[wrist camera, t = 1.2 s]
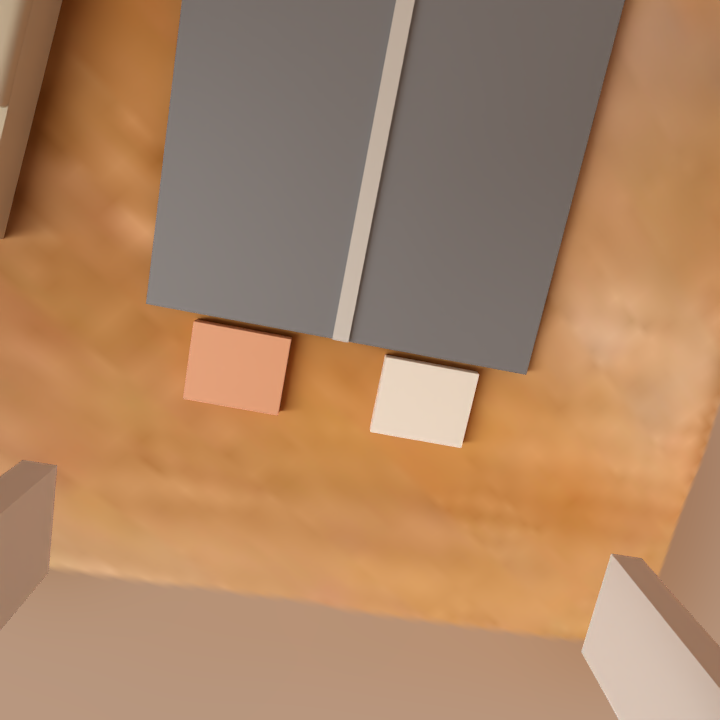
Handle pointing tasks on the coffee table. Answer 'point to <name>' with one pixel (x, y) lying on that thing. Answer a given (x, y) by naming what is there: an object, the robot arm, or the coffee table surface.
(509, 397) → the coffee table surface
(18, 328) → the coffee table surface
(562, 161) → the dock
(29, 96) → the electrical outlet
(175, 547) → the coffee table surface
